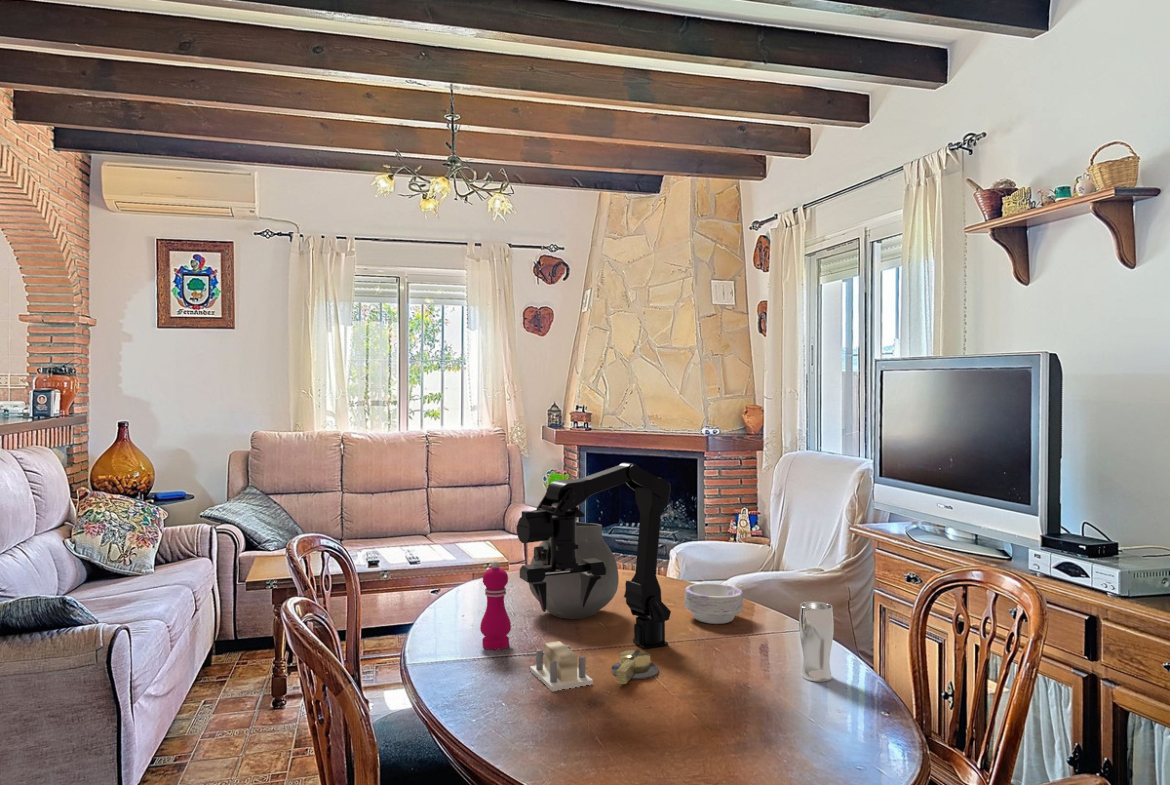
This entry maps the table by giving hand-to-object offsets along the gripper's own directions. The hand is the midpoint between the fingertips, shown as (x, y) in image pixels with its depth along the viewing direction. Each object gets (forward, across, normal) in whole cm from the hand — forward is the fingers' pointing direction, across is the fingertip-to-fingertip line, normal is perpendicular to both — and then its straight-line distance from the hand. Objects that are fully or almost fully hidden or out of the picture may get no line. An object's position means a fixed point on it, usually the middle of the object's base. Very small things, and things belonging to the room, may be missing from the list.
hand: (563, 608), depth 176 cm
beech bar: (+11, +4, +8) cm, 14 cm away
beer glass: (+12, -45, +30) cm, 55 cm away
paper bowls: (+12, -49, -15) cm, 53 cm away
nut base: (+12, -12, +11) cm, 20 cm away
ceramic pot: (+12, -17, -34) cm, 40 cm away
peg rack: (+12, +4, +8) cm, 15 cm away
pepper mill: (+12, +10, -18) cm, 24 cm away
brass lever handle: (+11, -10, +14) cm, 20 cm away
